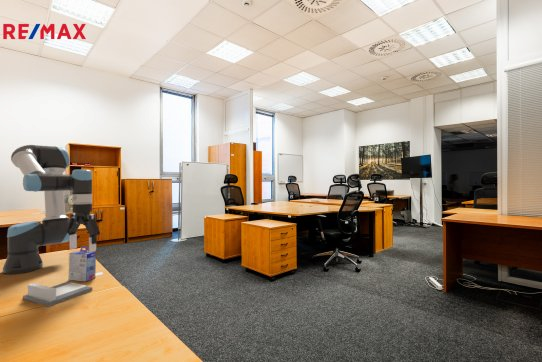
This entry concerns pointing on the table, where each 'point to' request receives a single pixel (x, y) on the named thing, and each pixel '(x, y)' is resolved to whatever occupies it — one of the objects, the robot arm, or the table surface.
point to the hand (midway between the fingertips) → (82, 249)
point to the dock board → (60, 298)
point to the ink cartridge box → (82, 265)
